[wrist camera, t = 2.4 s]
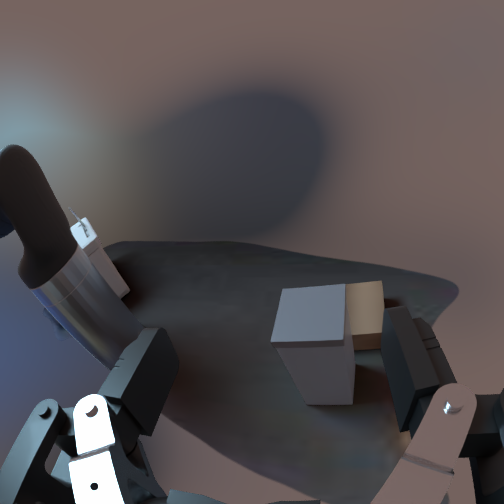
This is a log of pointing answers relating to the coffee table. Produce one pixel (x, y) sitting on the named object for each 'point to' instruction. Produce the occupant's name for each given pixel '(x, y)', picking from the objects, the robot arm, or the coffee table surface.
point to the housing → (317, 343)
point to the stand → (365, 314)
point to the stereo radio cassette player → (98, 255)
